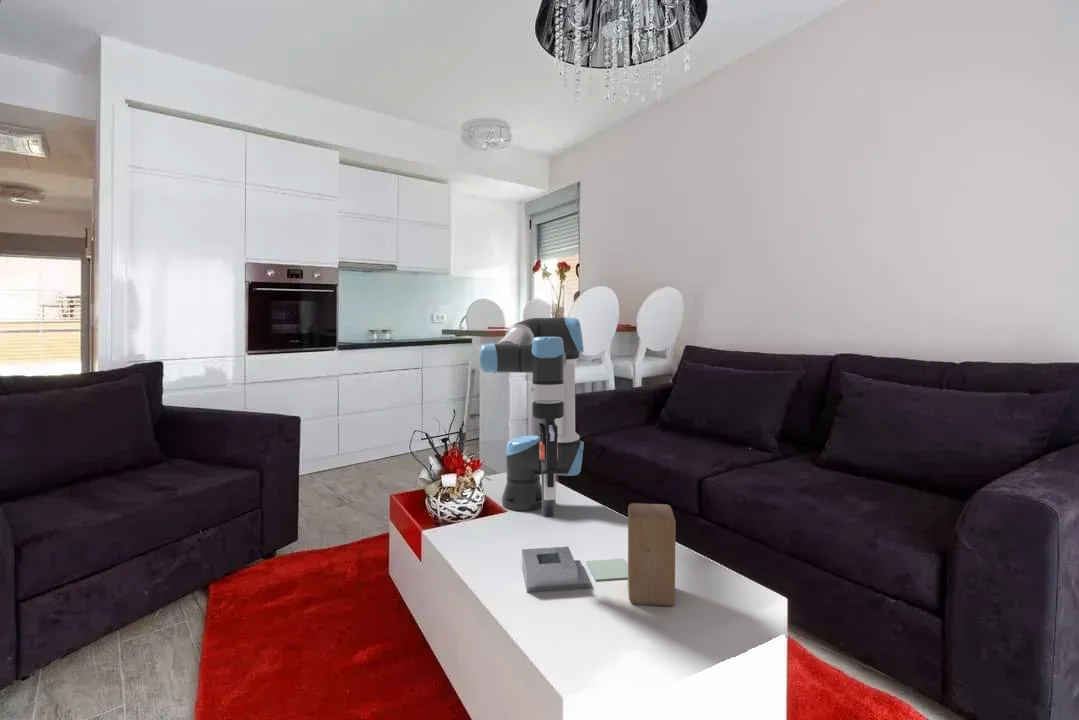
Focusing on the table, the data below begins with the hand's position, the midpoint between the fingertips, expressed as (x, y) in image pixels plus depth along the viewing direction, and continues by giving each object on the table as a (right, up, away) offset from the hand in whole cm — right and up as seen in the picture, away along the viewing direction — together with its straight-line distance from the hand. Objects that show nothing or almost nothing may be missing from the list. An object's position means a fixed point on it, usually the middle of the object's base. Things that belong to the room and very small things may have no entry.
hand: (548, 496), depth 125 cm
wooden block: (+23, -21, -7) cm, 32 cm away
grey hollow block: (+2, -20, +2) cm, 21 cm away
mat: (+16, -20, +5) cm, 26 cm away
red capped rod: (0, -5, 0) cm, 5 cm away
